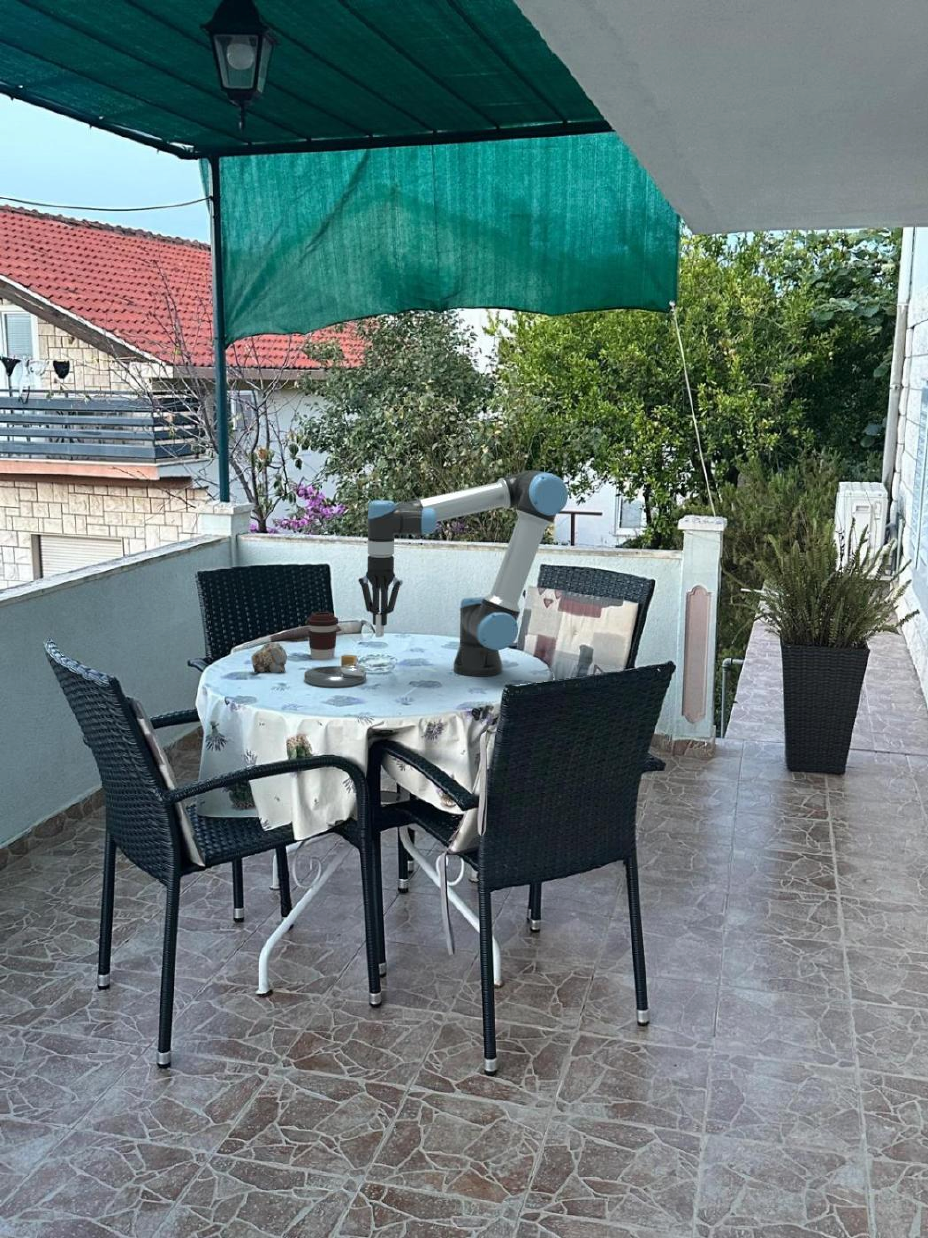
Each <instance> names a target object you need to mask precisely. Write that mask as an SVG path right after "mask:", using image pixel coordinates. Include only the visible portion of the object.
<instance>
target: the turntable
mask: <svg viewBox="0 0 928 1238" xmlns="http://www.w3.org/2000/svg"><path fill="white" fill-rule="evenodd" d="M357 658H358V657H357V655H355V654H354V655H352V654H343V655H341V659H340V660H341V662H340V665H330V666H327V665H326V666H320V667H314V668H310V669H308V670H306V671H305V672H304V674H303V675H304V679H303V681H304V682H305V683H306V684H307V685H309V686H312V687H317V688H322V689H323V688H326V689H341V688H346V689H347V688H352V687H357V686H360V685H362V684H364V683H366V682H367V673H366V671H365V676H364V677H361V678H345V677H342V676H341V666H344V665H348V664H358V662H357Z"/></svg>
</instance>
